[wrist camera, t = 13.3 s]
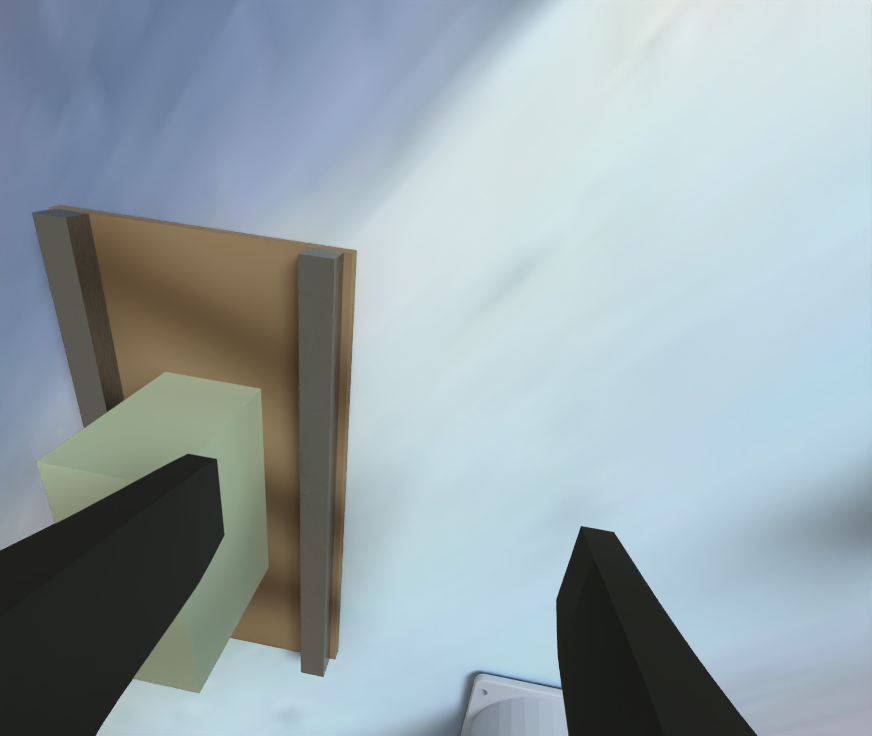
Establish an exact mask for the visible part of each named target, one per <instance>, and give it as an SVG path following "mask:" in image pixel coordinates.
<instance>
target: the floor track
mask: <svg viewBox="0 0 872 736" xmlns="http://www.w3.org/2000/svg"><path fill="white" fill-rule="evenodd" d="M32 215H33V219H34V223H35V227H36V231H37V235H38V239H39V244H40V248H41V252H42V256H43V260H44V264H45V268H46V273H47V277H48V281H49V285H50V289H51V293H52V297H53V302H54V306H55V310H56V314H57V318H58V322H59V326H60V331H61V335H62V339H63V343H64V347H65V351H66V355H67V360H68V364H69V368H70V372H71V376H72V380H73V384H74V388H75V393H76V397H77V401H78V405H79V409H80V413H81V417H82V422H83V426H84V428H85V427H87V426H88V425H90V424H91V423H93V422H94V421H95V420H97V419H98V418H100V417H101V416H103V415H104V414H106V413H107V412H108V411H110V410H111V409H113V408H114V407H116V406H117V405H118V404H120V403H121V402H123V401H124V400H126V399H127V398H128V397H130V396H131V395H133V394H134V393H136V392H137V391H138V390H140V389H141V388H143V387H144V386H146V385H147V384H148V383H150V382H151V381H153V380H154V379H156V378H157V377H158V376H160V375H161V374H163V373H164V372H169V373H174V374H180V375H186V376H191V377H197V378H203V379H208V380H214V381H220V382H225V383H231V384H237V385H242V386H248V387H254V388H260V389H261V403H262V426H263V448H264V471H265V494H266V516H267V539H268V561H269V568H268V569H267V571H266V573H265V575H264V577H263V579H262V580H261V582H260V584H259V586H258V588H257V589H256V591H255V593H254V595H253V597H252V599H251V600H250V602H249V604H248V606H247V608H246V609H245V611H244V613H243V615H242V617H241V619H240V620H239V622H238V624H237V626H236V628H235V629H234V631H233V633H232V635H231V637H230V638H234V639H239V640H244V641H249V642H253V643H258V644H263V645H268V646H272V647H277V648H282V649H287V650H292V651H296V652H301V672H302V673H307V674H312V675H317V676H321V677H324V674H325V671H326V668H327V665H328V662H329V659H335V658H336V655H337V652H338V640H339V619H340V597H341V576H342V554H343V533H344V511H345V490H346V469H347V447H348V426H349V404H350V383H351V361H352V340H353V318H354V297H355V275H356V254H357V251H356V250H350V249H343V248H337V247H330V246H324V245H317V244H311V243H304V242H297V241H291V240H284V239H278V238H271V237H265V236H258V235H252V234H245V233H238V232H232V231H225V230H219V229H212V228H206V227H199V226H192V225H186V224H179V223H173V222H166V221H160V220H153V219H147V218H140V217H133V216H127V215H120V214H114V213H107V212H101V211H94V210H88V209H81V208H74V207H68V206H61V205H59V206H53V207H49V210H45V211H39V212H33V213H32Z"/></svg>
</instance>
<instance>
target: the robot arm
mask: <svg viewBox="0 0 872 736" xmlns="http://www.w3.org/2000/svg"><path fill="white" fill-rule="evenodd" d="M224 536H225V533H224V523H223V513H222V503H221V493H220V483H219V473H218V463H217V459H215V458H209V457H204V456H199V455H193V454H186V455H184V456H182V457H180V458H178V459H176V460H174V461H172V462H170V463H168V464H166V465H164V466H162V467H161V468H159V469H157V470H155V471H153V472H151V473H149V474H148V475H146V476H144V477H142V478H140V479H138V480H137V481H135V482H133V483H131V484H129V485H127V486H125V487H124V488H122V489H120V490H118V491H116V492H114V493H112V494H111V495H109V496H107V497H105V498H103V499H101V500H99V501H97V502H96V503H94V504H92V505H90V506H88V507H86V508H84V509H82V510H81V511H79V512H77V513H75V514H73V515H71V516H69V517H67V518H65V519H63V520H61V521H59V522H57V523H55V524H53V525H51V526H49V527H47V528H45V529H43V530H41V531H39V532H37V533H35V534H33V535H31V536H29V537H27V538H25V539H23V540H21V541H19V542H17V543H15V544H13V545H11V546H9V547H7V548H5V549H3V550H1V551H0V736H96V734H97V732H98V730H99V729H100V727H101V725H102V724H103V722H104V721H105V719H106V718H107V716H108V715H109V713H110V712H111V710H112V709H113V707H114V706H115V704H116V702H117V701H118V699H119V698H120V696H121V695H122V694H123V692H124V691H125V689H126V688H127V686H128V685H129V684H130V682H131V681H132V679H133V678H134V676H135V675H136V674H137V672H138V671H139V669H140V668H141V666H142V665H143V664H144V662H145V661H146V659H147V658H148V656H149V655H150V654H151V652H152V651H153V649H154V648H155V646H156V645H157V644H158V642H159V641H160V639H161V638H162V636H163V635H164V634H165V632H166V631H167V629H168V628H169V626H170V625H171V624H172V622H173V621H174V619H175V618H176V616H177V615H178V613H179V612H180V611H181V609H182V608H183V606H184V605H185V603H186V602H187V600H188V599H189V597H190V596H191V595H192V593H193V592H194V590H195V589H196V587H197V586H198V584H199V583H200V581H201V579H202V577H203V575H204V574H205V572H206V570H207V568H208V566H209V564H210V563H211V561H212V559H213V557H214V555H215V553H216V551H217V549H218V547H219V545H220V543H221V541H222V539H223V537H224ZM556 611H557V649H558V662H559V670H560V677H561V685H562V690H561V689H556V688H552V687H547V686H542V685H537V684H532V683H527V682H523V681H518V680H513V679H508V678H503V677H498V676H494V675H489V674H479V675H477V676H476V677H475V680H474V684H473V688H472V691H471V695H470V699H469V703H468V707H467V711H466V715H465V719H464V723H463V727H462V731H461V735H460V736H757V735H756V733H755V732H754V731H753V730H752V728H751V727H750V726H749V725H748V723H747V722H746V721H745V720H744V718H743V717H742V716H741V715H740V713H739V712H738V711H737V710H736V708H735V707H734V706H733V704H732V703H731V702H730V700H729V699H728V698H727V696H726V695H725V694H724V692H723V691H722V690H721V689H720V687H719V686H718V685H717V683H716V682H715V681H714V679H713V678H712V677H711V675H710V674H709V673H708V671H707V670H706V668H705V667H704V666H703V664H702V663H701V662H700V660H699V659H698V657H697V656H696V655H695V653H694V652H693V650H692V649H691V648H690V646H689V645H688V643H687V642H686V640H685V639H684V637H683V636H682V635H681V633H680V632H679V630H678V629H677V627H676V626H675V625H674V623H673V622H672V620H671V619H670V617H669V616H668V614H667V613H666V611H665V610H664V608H663V607H662V605H661V604H660V603H659V601H658V599H657V598H656V596H655V595H654V593H653V592H652V590H651V589H650V587H649V586H648V584H647V583H646V581H645V580H644V578H643V576H642V575H641V573H640V572H639V570H638V569H637V567H636V566H635V564H634V562H633V561H632V559H631V558H630V556H629V555H628V553H627V552H626V550H625V548H624V547H623V545H622V544H621V542H620V541H619V539H618V538H617V536H616V535H615V533H614V532H610V531H605V530H599V529H594V528H589V527H583V526H581V528H580V531H579V534H578V537H577V540H576V543H575V546H574V549H573V552H572V555H571V558H570V561H569V564H568V567H567V570H566V573H565V576H564V578H563V581H562V584H561V587H560V590H559V593H558V596H557V599H556Z"/></svg>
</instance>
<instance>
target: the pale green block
mask: <svg viewBox="0 0 872 736" xmlns="http://www.w3.org/2000/svg"><path fill="white" fill-rule="evenodd" d="M186 454H193V455H199V456H204V457H209V458H215V459H217V463H218V473H219V483H220V493H221V503H222V513H223V523H224V533H225V536H224V537H223V539H222V541H221V543H220V545H219V547H218V549H217V551H216V553H215V555H214V557H213V559H212V561H211V563H210V564H209V566H208V568H207V570H206V572H205V574H204V575H203V577H202V579H201V581H200V583H199V584H198V586H197V587H196V589H195V590H194V592H193V593H192V595H191V596H190V597H189V599H188V600H187V602H186V603H185V605H184V606H183V608H182V609H181V611H180V612H179V613H178V615H177V616H176V618H175V619H174V621H173V622H172V624H171V625H170V626H169V628H168V629H167V631H166V632H165V634H164V635H163V636H162V638H161V639H160V641H159V642H158V644H157V645H156V646H155V648H154V649H153V651H152V652H151V654H150V655H149V656H148V658H147V659H146V661H145V662H144V664H143V665H142V666H141V668H140V669H139V671H138V672H137V674H136V675H135V676H134V678H133V679H137V680H141V681H146V682H150V683H155V684H159V685H164V686H168V687H173V688H178V689H182V690H187V691H191V692H196V693H200V691H201V689H202V688H203V686H204V684H205V682H206V680H207V679H208V677H209V675H210V673H211V671H212V669H213V668H214V666H215V664H216V662H217V660H218V659H219V657H220V655H221V653H222V651H223V649H224V648H225V646H226V644H227V642H228V640H229V639H230V637H231V635H232V633H233V631H234V629H235V628H236V626H237V624H238V622H239V620H240V619H241V617H242V615H243V613H244V611H245V609H246V608H247V606H248V604H249V602H250V600H251V599H252V597H253V595H254V593H255V591H256V589H257V588H258V586H259V584H260V582H261V580H262V579H263V577H264V575H265V573H266V571H267V569H268V568H269V561H268V539H267V516H266V494H265V471H264V448H263V426H262V403H261V389H260V388H254V387H248V386H242V385H237V384H231V383H225V382H220V381H214V380H208V379H203V378H197V377H191V376H186V375H180V374H174V373H169V372H164V373H163V374H161V375H160V376H158V377H157V378H156V379H154V380H153V381H151V382H150V383H148V384H147V385H146V386H144V387H143V388H141V389H140V390H138V391H137V392H136V393H134V394H133V395H131V396H130V397H128V398H127V399H126V400H124V401H123V402H121V403H120V404H118V405H117V406H116V407H114V408H113V409H111V410H110V411H108V412H107V413H106V414H104V415H103V416H101V417H100V418H98V419H97V420H95V421H94V422H93V423H91V424H90V425H88V426H87V427H85V428H84V429H83V430H81V431H80V432H78V433H77V434H75V435H74V436H73V437H71V438H70V439H68V440H67V441H65V442H64V443H63V444H61V445H60V446H58V447H57V448H55V449H54V450H53V451H51V452H50V453H48V454H47V455H45V456H44V457H43V458H41V459H40V460H38V461H37V465H38V469H39V472H40V475H41V479H42V482H43V485H44V489H45V492H46V495H47V498H48V502H49V505H50V508H51V512H52V515H53V518H54V522H55V523H57V522H59V521H61V520H63V519H65V518H67V517H69V516H71V515H73V514H75V513H77V512H79V511H81V510H82V509H84V508H86V507H88V506H90V505H92V504H94V503H96V502H97V501H99V500H101V499H103V498H105V497H107V496H109V495H111V494H112V493H114V492H116V491H118V490H120V489H122V488H124V487H125V486H127V485H129V484H131V483H133V482H135V481H137V480H138V479H140V478H142V477H144V476H146V475H148V474H149V473H151V472H153V471H155V470H157V469H159V468H161V467H162V466H164V465H166V464H168V463H170V462H172V461H174V460H176V459H178V458H180V457H182V456H184V455H186Z"/></svg>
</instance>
